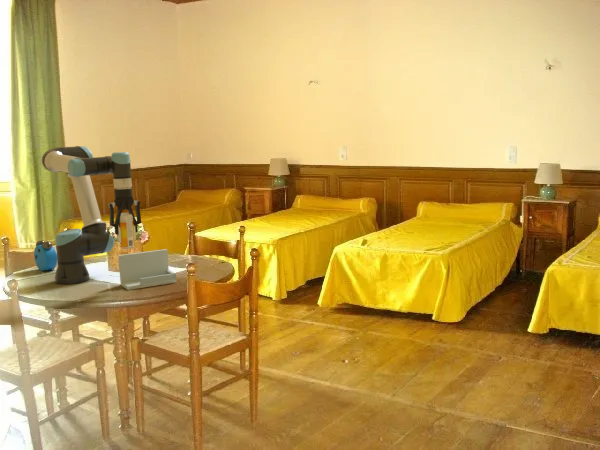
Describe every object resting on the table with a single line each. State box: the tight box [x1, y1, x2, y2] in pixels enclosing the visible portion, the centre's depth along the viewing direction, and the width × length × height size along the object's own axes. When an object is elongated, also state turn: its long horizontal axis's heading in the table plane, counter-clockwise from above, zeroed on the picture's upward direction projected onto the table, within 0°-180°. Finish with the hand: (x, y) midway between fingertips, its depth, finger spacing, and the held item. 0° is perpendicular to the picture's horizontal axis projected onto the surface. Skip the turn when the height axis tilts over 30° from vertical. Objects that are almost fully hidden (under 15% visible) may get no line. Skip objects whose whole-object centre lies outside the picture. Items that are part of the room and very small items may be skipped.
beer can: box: [118, 212, 136, 250], centre depth 289 cm, size 6×6×15 cm
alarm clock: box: [33, 239, 58, 272], centre depth 331 cm, size 13×6×15 cm, turn 47°
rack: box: [118, 248, 177, 291], centre depth 295 cm, size 22×11×14 cm, turn 120°
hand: (127, 240), depth 290 cm, fingers closed on beer can, 6 cm apart
